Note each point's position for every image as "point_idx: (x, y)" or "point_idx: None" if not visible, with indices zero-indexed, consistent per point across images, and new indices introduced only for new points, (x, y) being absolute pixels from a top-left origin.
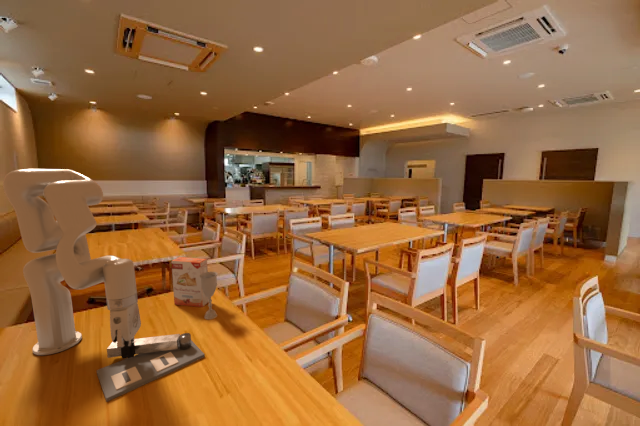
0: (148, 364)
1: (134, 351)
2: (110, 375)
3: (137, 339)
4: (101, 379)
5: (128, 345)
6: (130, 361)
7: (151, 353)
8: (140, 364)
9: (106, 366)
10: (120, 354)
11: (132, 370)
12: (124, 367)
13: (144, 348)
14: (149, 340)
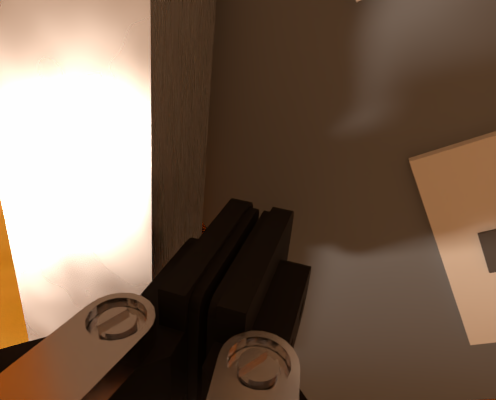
0: (431, 9)
1: (240, 219)
2: (434, 341)
3: (21, 218)
4: (457, 392)
5: (295, 394)
6: None
7: None
8: (377, 110)
9: None
10: None
11: (487, 180)
12: (357, 251)
13: (182, 104)
14: (54, 50)
